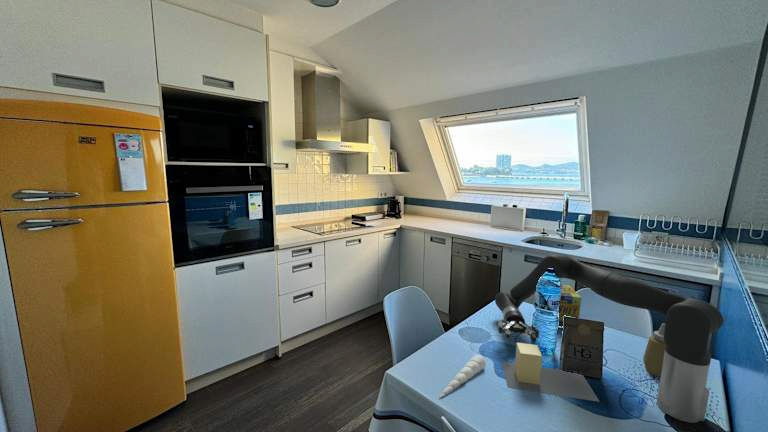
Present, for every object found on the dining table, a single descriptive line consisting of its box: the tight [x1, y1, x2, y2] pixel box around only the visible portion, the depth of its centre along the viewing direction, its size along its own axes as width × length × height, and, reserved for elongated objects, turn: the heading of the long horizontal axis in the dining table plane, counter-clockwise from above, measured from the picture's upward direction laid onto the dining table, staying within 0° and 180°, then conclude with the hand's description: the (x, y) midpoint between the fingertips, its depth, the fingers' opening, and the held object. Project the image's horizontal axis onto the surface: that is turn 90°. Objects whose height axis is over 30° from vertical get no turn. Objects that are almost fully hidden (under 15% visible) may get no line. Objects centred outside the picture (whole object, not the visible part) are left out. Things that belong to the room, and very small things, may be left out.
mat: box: [501, 361, 601, 403], centre depth 103 cm, size 26×14×1 cm, turn 77°
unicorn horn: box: [439, 354, 486, 399], centre depth 102 cm, size 5×24×5 cm, turn 130°
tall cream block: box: [514, 342, 543, 384], centre depth 104 cm, size 6×6×10 cm
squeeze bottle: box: [642, 323, 666, 378], centre depth 107 cm, size 8×8×18 cm
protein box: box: [559, 284, 582, 327], centre depth 144 cm, size 10×15×16 cm
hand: (521, 338), depth 114 cm, fingers open, 8 cm apart
